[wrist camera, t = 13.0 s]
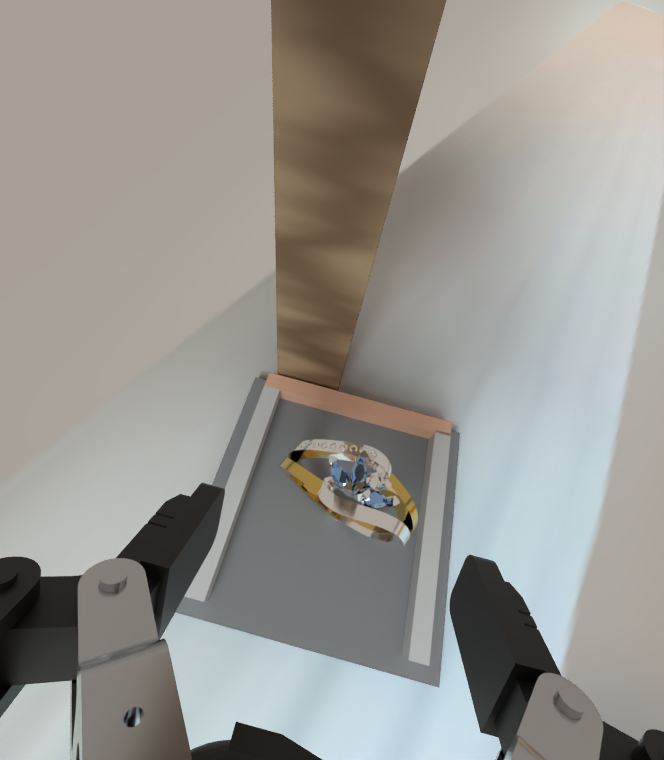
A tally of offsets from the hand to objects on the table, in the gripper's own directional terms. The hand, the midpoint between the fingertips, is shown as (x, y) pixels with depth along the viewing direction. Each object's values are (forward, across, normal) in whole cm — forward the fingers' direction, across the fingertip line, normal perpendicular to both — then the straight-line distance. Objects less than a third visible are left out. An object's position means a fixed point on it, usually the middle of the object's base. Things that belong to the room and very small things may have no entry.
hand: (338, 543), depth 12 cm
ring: (+9, 0, +5) cm, 10 cm away
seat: (+9, 0, +5) cm, 11 cm away
